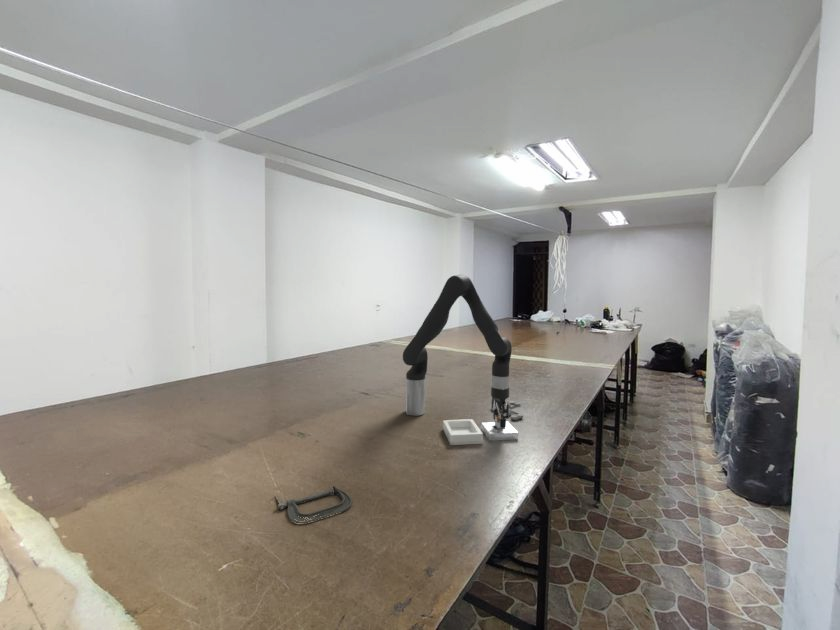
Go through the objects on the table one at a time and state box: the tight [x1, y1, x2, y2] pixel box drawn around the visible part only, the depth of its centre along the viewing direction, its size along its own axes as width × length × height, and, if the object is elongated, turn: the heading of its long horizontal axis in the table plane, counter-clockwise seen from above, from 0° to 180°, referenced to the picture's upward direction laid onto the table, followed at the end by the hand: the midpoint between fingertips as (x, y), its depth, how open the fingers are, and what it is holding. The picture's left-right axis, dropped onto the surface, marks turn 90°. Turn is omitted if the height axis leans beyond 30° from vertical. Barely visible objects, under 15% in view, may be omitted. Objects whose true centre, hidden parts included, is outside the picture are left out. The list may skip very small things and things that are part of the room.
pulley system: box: [490, 400, 524, 421], centre depth 188 cm, size 27×5×15 cm
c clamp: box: [277, 485, 353, 523], centre depth 109 cm, size 20×17×3 cm
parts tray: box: [442, 418, 484, 446], centre depth 157 cm, size 13×16×4 cm
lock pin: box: [494, 414, 504, 430], centre depth 159 cm, size 4×4×8 cm
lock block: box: [480, 420, 519, 442], centre depth 159 cm, size 12×12×3 cm
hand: (499, 423), depth 159 cm, fingers open, 8 cm apart
